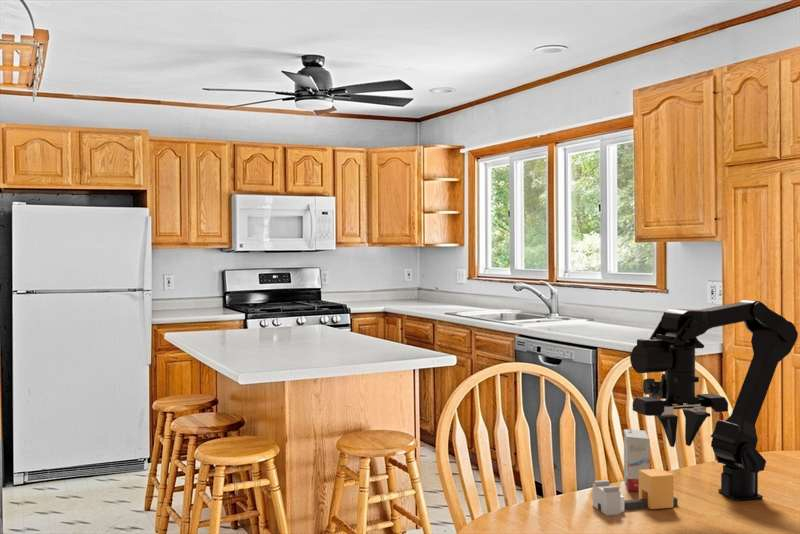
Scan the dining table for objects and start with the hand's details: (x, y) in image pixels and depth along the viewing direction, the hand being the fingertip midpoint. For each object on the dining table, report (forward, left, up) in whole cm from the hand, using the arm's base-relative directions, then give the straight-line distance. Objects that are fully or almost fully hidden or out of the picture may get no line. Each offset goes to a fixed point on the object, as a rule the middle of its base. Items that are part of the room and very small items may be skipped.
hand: (680, 446), depth 158 cm
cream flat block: (+14, 0, -12) cm, 18 cm away
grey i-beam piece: (+17, 0, -12) cm, 20 cm away
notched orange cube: (+6, 0, -12) cm, 13 cm away
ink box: (+3, -13, -12) cm, 18 cm away
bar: (+10, 0, -12) cm, 15 cm away
